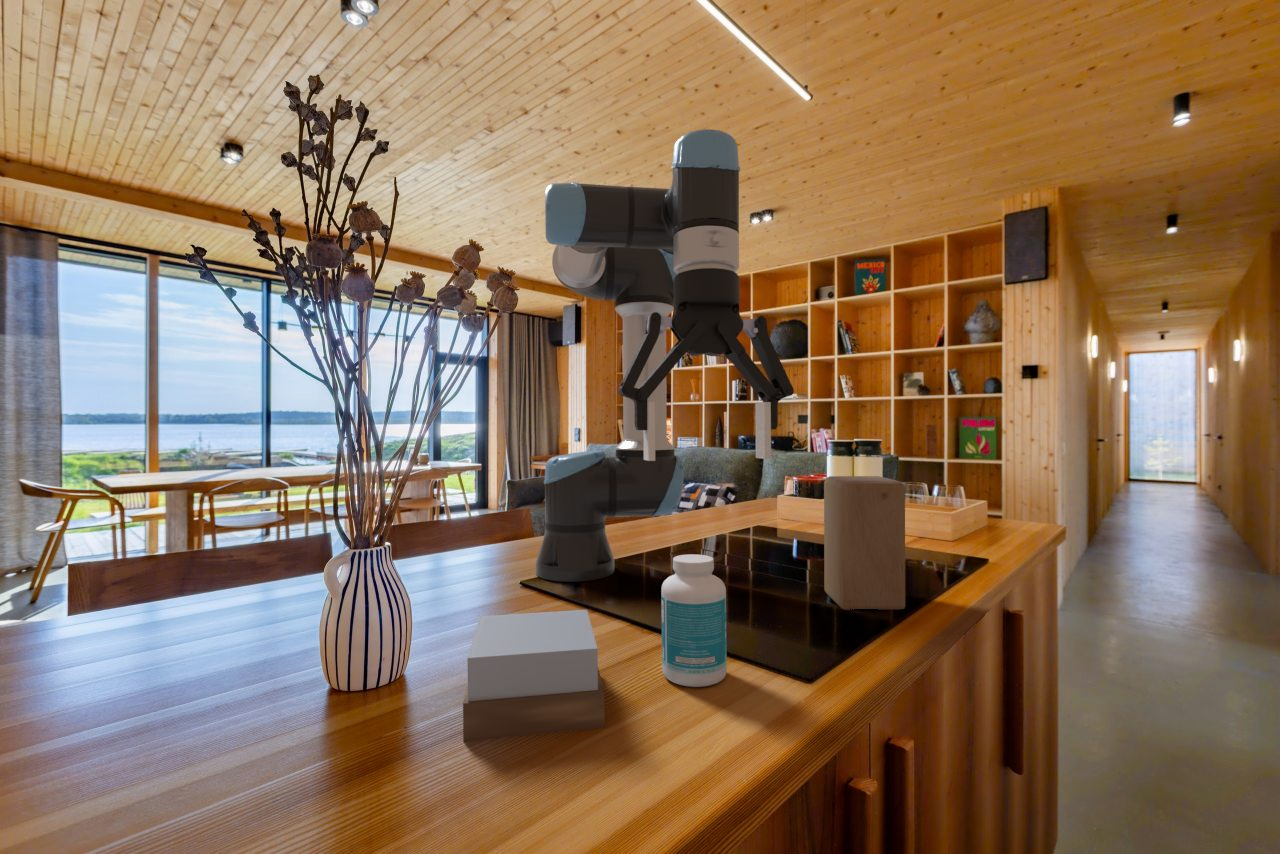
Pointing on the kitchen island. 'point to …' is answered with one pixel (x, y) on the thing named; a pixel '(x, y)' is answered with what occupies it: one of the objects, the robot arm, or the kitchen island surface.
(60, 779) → the kitchen island surface
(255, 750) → the kitchen island surface
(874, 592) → the wooden block
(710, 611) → the pill bottle
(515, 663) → the tower top
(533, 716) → the tower base
